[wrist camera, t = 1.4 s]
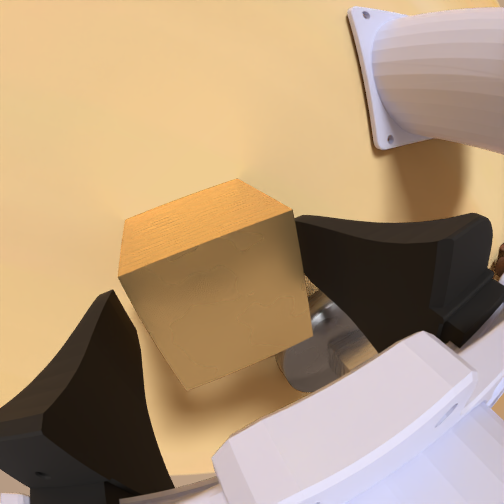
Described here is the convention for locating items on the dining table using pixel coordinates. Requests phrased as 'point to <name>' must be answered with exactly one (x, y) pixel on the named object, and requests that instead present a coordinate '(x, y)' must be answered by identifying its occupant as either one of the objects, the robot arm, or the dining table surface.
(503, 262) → the brown arched piece
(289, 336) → the wooden cube
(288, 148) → the dining table surface
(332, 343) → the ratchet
